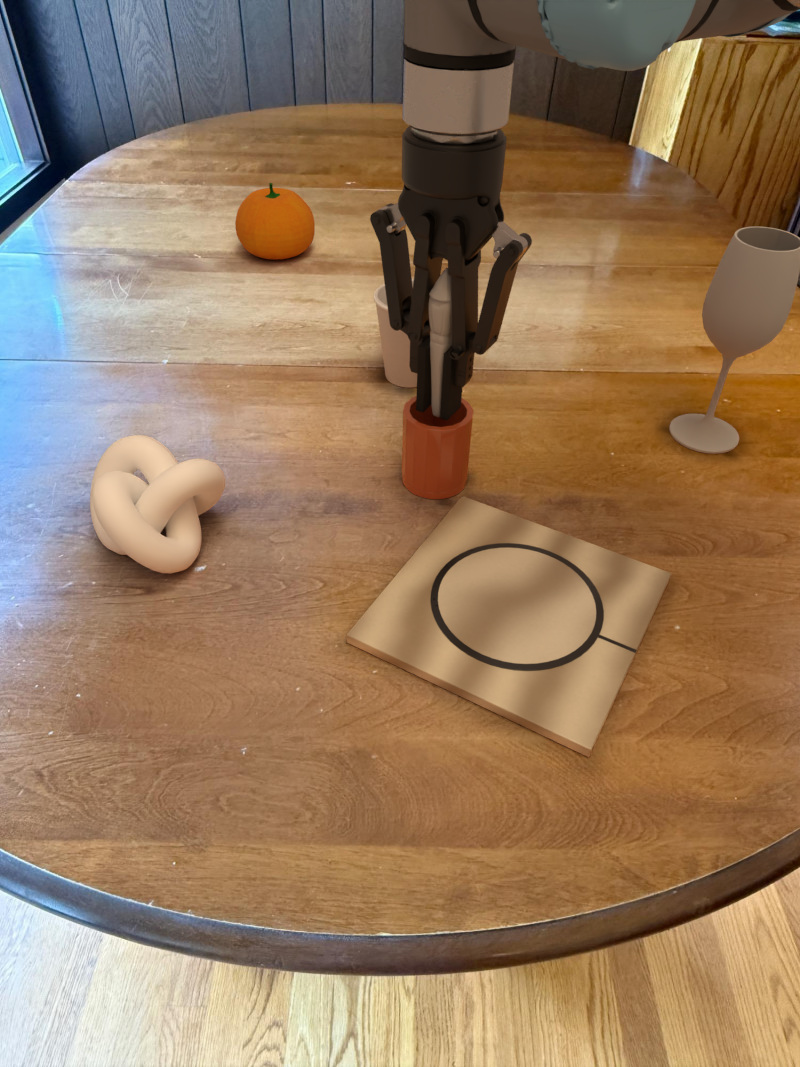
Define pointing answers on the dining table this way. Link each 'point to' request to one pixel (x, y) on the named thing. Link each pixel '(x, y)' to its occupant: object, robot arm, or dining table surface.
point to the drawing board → (516, 620)
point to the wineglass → (742, 319)
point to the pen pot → (435, 451)
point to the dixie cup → (393, 345)
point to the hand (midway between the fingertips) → (438, 408)
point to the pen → (439, 334)
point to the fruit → (275, 223)
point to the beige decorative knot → (152, 502)
